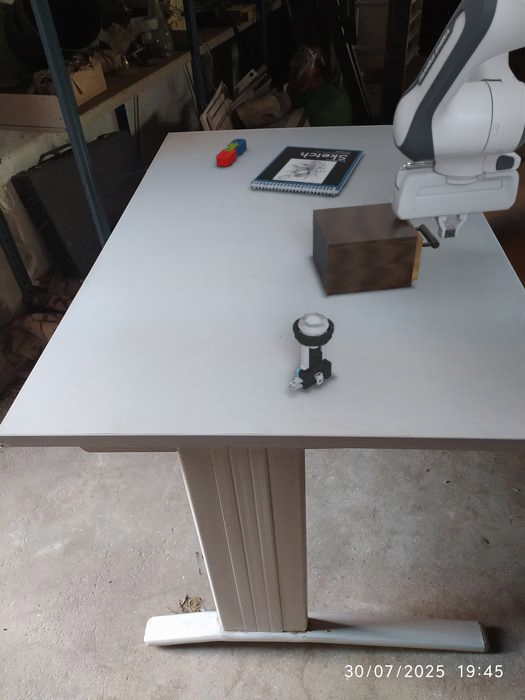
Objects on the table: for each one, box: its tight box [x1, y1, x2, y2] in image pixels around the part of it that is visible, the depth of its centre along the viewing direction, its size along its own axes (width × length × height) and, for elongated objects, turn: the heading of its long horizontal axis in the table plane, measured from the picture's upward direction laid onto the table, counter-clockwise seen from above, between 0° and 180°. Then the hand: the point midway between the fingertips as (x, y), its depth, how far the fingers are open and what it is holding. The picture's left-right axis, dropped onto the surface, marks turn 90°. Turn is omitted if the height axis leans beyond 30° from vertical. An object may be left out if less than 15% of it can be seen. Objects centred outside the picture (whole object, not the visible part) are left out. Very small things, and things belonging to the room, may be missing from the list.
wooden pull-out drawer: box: [406, 219, 441, 281], centre depth 94 cm, size 18×12×8 cm
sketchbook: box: [250, 145, 364, 197], centre depth 138 cm, size 22×30×2 cm
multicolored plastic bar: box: [215, 138, 248, 167], centre depth 149 cm, size 17×4×3 cm, turn 163°
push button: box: [289, 311, 335, 392], centre depth 71 cm, size 7×5×10 cm
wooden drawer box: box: [312, 202, 418, 296], centre depth 94 cm, size 15×14×10 cm
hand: (447, 236), depth 95 cm, fingers closed
